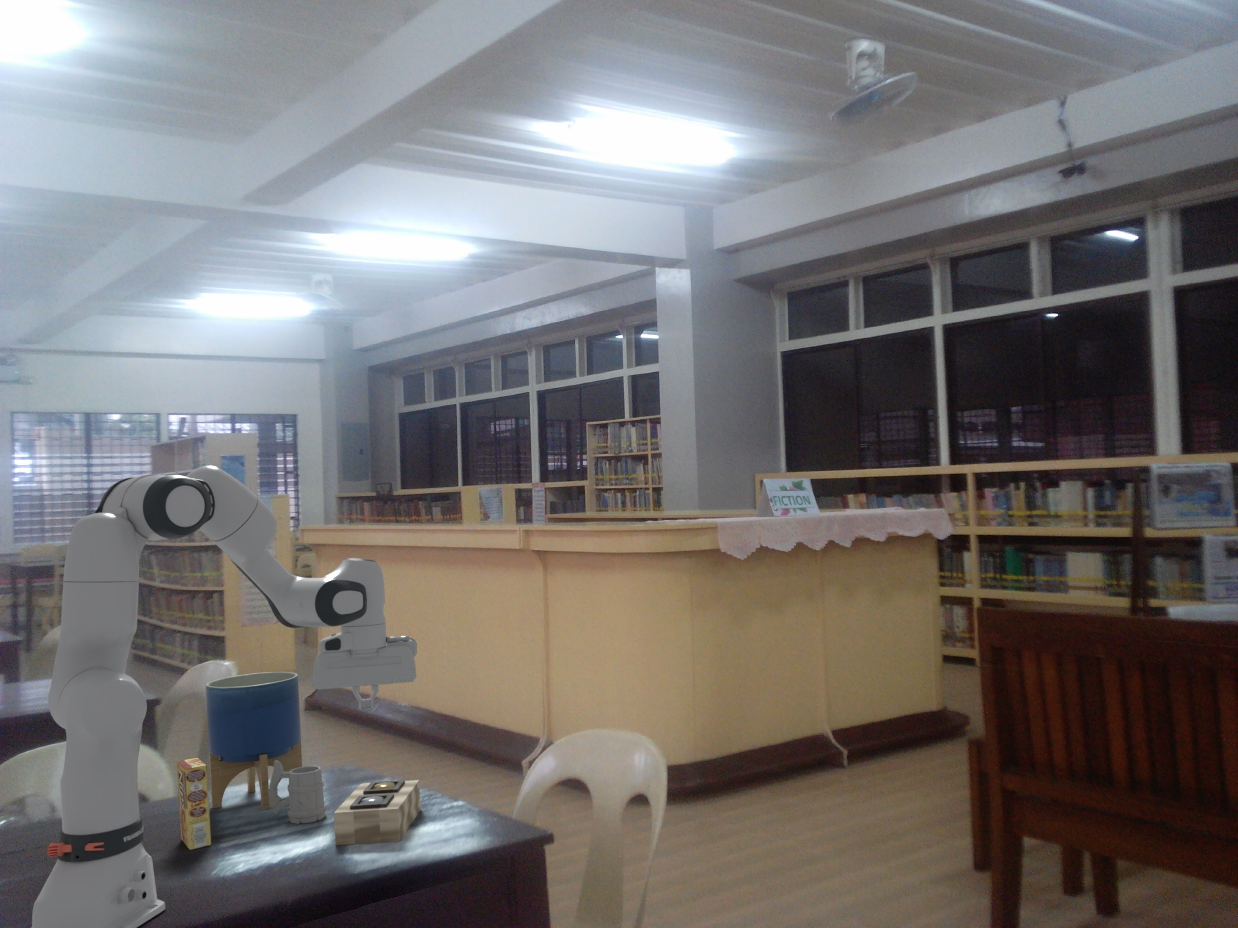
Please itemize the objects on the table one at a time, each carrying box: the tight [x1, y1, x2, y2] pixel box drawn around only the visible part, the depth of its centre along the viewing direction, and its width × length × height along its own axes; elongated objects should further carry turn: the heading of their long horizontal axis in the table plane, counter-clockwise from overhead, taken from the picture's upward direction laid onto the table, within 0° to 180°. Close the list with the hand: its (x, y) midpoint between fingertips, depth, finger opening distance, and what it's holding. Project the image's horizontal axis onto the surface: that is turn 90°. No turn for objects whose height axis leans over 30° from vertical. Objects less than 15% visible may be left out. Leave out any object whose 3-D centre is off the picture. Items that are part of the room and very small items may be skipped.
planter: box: [205, 671, 303, 811], centre depth 231 cm, size 19×19×26 cm
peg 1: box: [362, 796, 383, 804], centre depth 199 cm, size 4×4×6 cm
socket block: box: [333, 779, 422, 846], centre depth 204 cm, size 20×12×7 cm, turn 0°
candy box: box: [176, 757, 212, 851], centre depth 202 cm, size 9×4×15 cm, turn 33°
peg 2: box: [374, 782, 395, 789], centre depth 209 cm, size 4×4×6 cm
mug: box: [268, 760, 327, 825], centre depth 214 cm, size 8×12×12 cm, turn 85°
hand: (366, 708), depth 209 cm, fingers closed
